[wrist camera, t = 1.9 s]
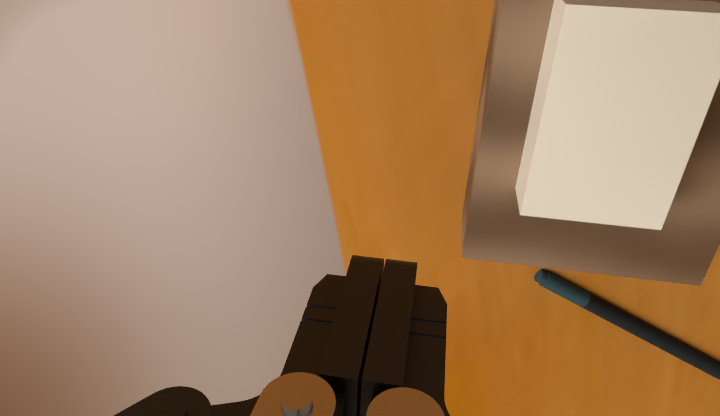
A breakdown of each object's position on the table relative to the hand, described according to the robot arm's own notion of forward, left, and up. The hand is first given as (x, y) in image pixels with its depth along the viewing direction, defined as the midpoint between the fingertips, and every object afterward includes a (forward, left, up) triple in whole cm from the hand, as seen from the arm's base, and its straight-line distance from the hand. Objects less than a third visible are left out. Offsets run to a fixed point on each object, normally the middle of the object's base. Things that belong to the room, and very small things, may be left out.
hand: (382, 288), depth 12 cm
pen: (+16, +15, -19) cm, 29 cm away
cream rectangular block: (0, +8, -13) cm, 15 cm away
